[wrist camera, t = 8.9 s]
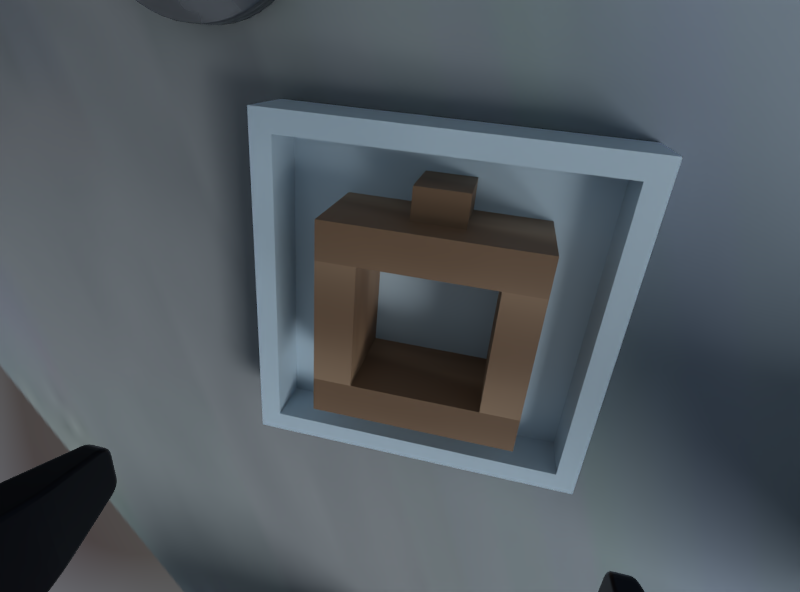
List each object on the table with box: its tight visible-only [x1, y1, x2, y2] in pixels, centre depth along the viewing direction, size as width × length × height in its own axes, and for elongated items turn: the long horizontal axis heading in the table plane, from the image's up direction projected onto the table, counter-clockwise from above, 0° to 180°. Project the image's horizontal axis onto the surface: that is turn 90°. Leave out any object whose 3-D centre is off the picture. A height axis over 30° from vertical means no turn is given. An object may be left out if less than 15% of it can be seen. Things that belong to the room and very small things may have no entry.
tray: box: [247, 99, 683, 494], centre depth 17 cm, size 11×11×2 cm
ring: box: [314, 170, 559, 452], centre depth 16 cm, size 7×6×3 cm
